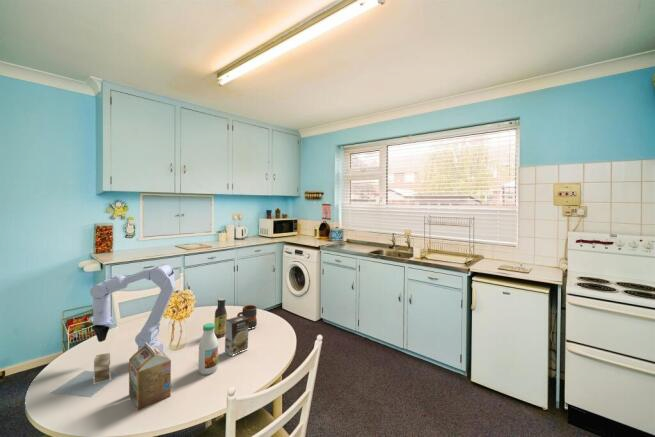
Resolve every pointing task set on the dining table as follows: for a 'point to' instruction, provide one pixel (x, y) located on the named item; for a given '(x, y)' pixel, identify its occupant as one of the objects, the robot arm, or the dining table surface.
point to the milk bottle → (208, 350)
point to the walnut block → (101, 375)
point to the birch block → (101, 362)
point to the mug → (250, 314)
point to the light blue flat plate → (83, 385)
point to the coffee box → (236, 334)
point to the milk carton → (149, 377)
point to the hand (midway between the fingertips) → (101, 340)
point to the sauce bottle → (220, 318)
